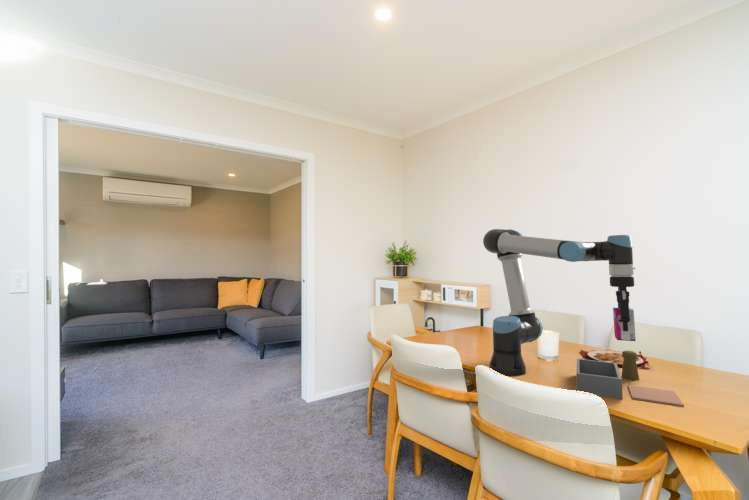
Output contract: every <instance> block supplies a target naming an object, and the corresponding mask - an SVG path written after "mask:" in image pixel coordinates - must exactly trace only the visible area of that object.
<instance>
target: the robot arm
mask: <svg viewBox="0 0 749 500" xmlns="http://www.w3.org/2000/svg"><path fill="white" fill-rule="evenodd" d="M482 243H483V244H482V245H483V246H484V248H485V249H486V250H487V252H489V253H492V254H496V256H497V260H498V261H500V262H501V265H502V269H503V270H502V271H503V276H504V280H505V286H506V291H507V296H508V297H507V298H508V301H509V307H510V312H509V314H508V315H505V316H504V315H500V316H497V317H496V318H494V319H493V320H492V343H493V344H492V345H493V347H492V348H493V352H492V355H491V358H490V361H489V369H490V368H492V369H493V370H495V371H497V372H499V373H501V374H500V375H502V374H504V375H503V376H512V377H514V376H522V375H525V374H526V373H527V368H526V363H525V361H524V357H523V356H522V345H523V344H526V343H527V344H528V343H532V342H534V341H536V340H538V339H539V338H540V337H541V336H542V334H543V324H542V322H541V320H540V319H539V318H538V317H536V313H535V310H533V309H532V308H531V307H530V301H529V296H528V292H527V291H528V290H527V287H526V281H525V275H524V272H523V271H524V270H523V266H522V260H521V258H522V256H523V255H529V256H535V257H541V258H542V257H543V258H548V259H549V258H550V259H557V260H563V261H565V262H570V263H575V262H598V261H599V262H600V261H604V262H605V261H608V274H609V276H610V277H609V286H611V287H612V288H613V287H614V288H617V290H616V291H615V296H616V302H617V308H620V316H621V319H620V320H618V321H619V322H620V326H621V340H620V341H624V340H630V324H629V321H630V318H629V308H630V305H629V304H630V291H627V290H628V288H631V287H632V288H633V287H634V286H635V277H634V276H633V275H634V270H636V267H635V266H634V260H633V259H634V258H633V257H634V256H633V248H634V247H633V243H632V237H631V236H630V235H629V234H616V235H609V236H607V240H604V241H575V240H574V241H572V240H563V239H556V238H555V239H554V238H553V239H552V238H544V237H534V236H525V235H524V236H523V234H522V233H520V232H519V231H517V230H515V229H510V228H509V229H504V228H503V229H501V228H493V229H491V230H489V231H487V232H486V233H485V234H484V236H483V238H482Z"/></svg>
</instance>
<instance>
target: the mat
mask: <svg viewBox="0 0 749 500" xmlns="http://www.w3.org/2000/svg"><path fill="white" fill-rule="evenodd" d="M627 388H628V391H629V394H630V396H631V399H632V400H637V401H643V402H652V403H656V402H658V403H657V404H663V403H665V404H664V405H669V404H671V406H676V405H677V406H676V407H683V408H684V407H685V405H684V403H683V401H682V400H681V398H680V397H679V396H678V394H677V393H676V391H675V390H669V389H664V388H663V389H662V388H654V387H647V386H640V385H639V386H638V385H631V384H627Z"/></svg>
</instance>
